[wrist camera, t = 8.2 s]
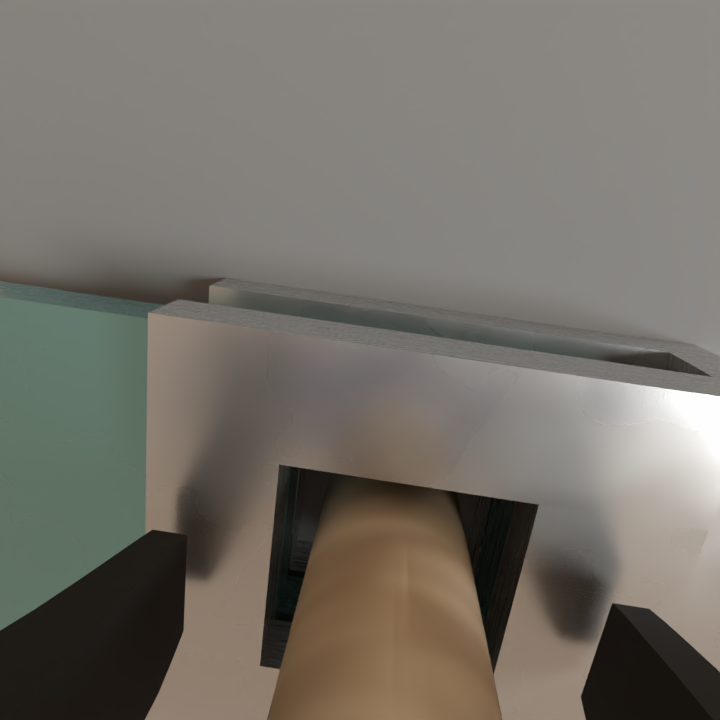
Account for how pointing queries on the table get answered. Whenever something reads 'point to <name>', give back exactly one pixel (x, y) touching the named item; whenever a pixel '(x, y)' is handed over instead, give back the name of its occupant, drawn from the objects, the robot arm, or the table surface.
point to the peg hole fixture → (357, 469)
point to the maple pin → (387, 613)
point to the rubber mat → (371, 157)
